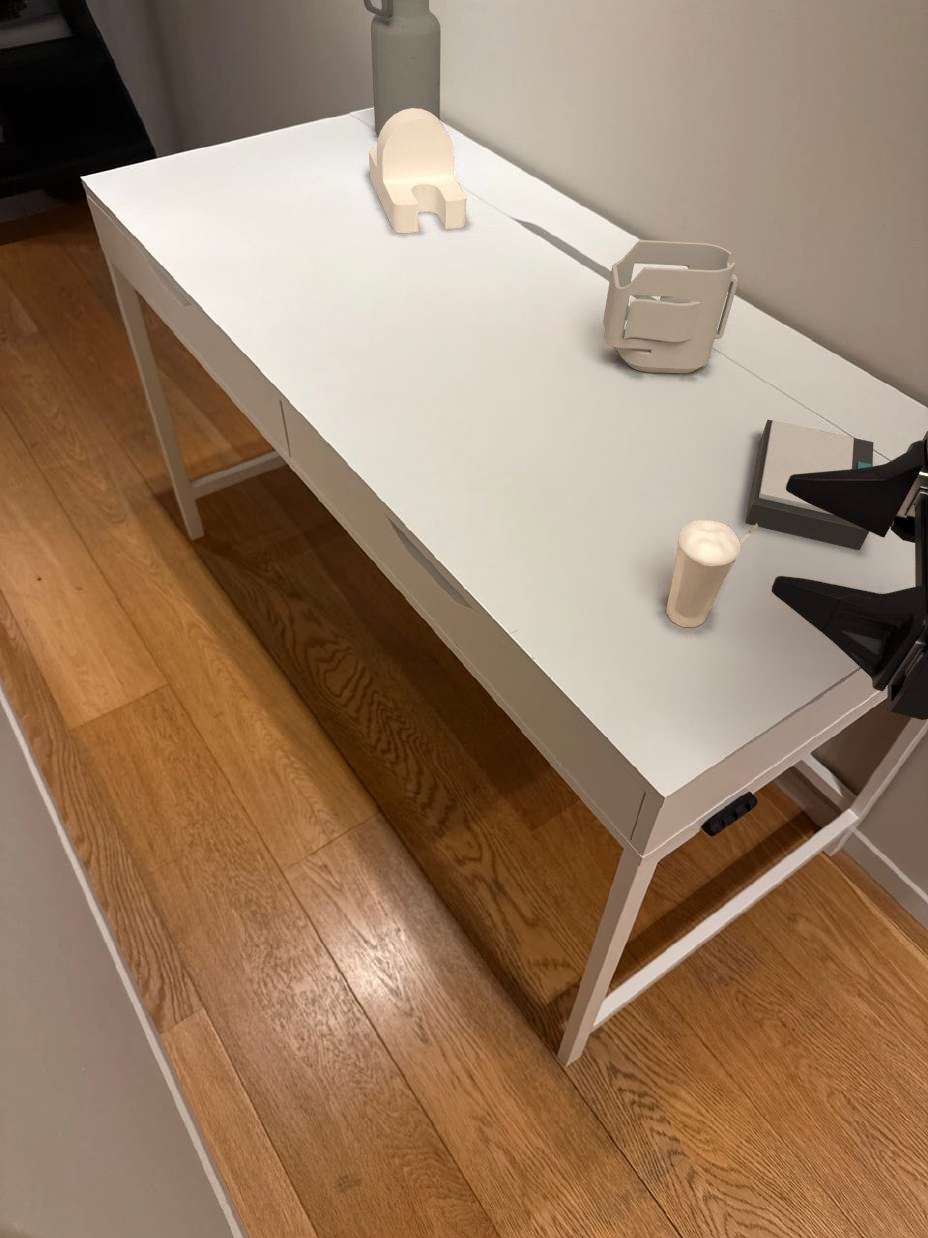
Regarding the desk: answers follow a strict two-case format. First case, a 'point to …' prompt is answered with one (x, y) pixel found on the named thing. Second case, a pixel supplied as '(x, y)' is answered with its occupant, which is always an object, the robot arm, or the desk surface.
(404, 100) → the water bottle
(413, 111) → the white slotted holder
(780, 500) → the scale
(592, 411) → the desk surface
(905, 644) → the robot arm
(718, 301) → the cable organizer
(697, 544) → the milkshake
